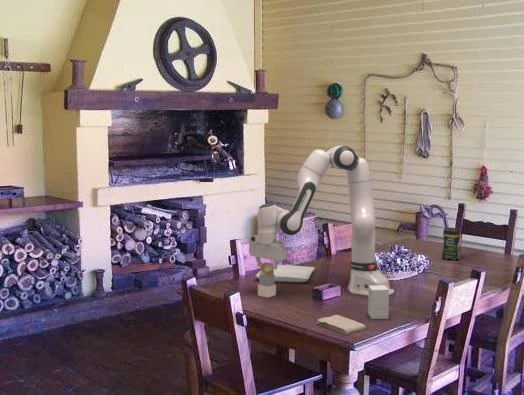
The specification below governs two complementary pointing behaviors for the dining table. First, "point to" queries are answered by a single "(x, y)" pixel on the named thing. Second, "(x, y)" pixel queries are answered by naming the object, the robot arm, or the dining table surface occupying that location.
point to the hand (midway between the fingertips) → (267, 267)
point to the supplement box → (378, 302)
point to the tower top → (267, 280)
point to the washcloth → (341, 324)
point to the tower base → (266, 291)
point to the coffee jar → (451, 243)
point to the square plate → (291, 273)
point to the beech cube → (266, 269)
